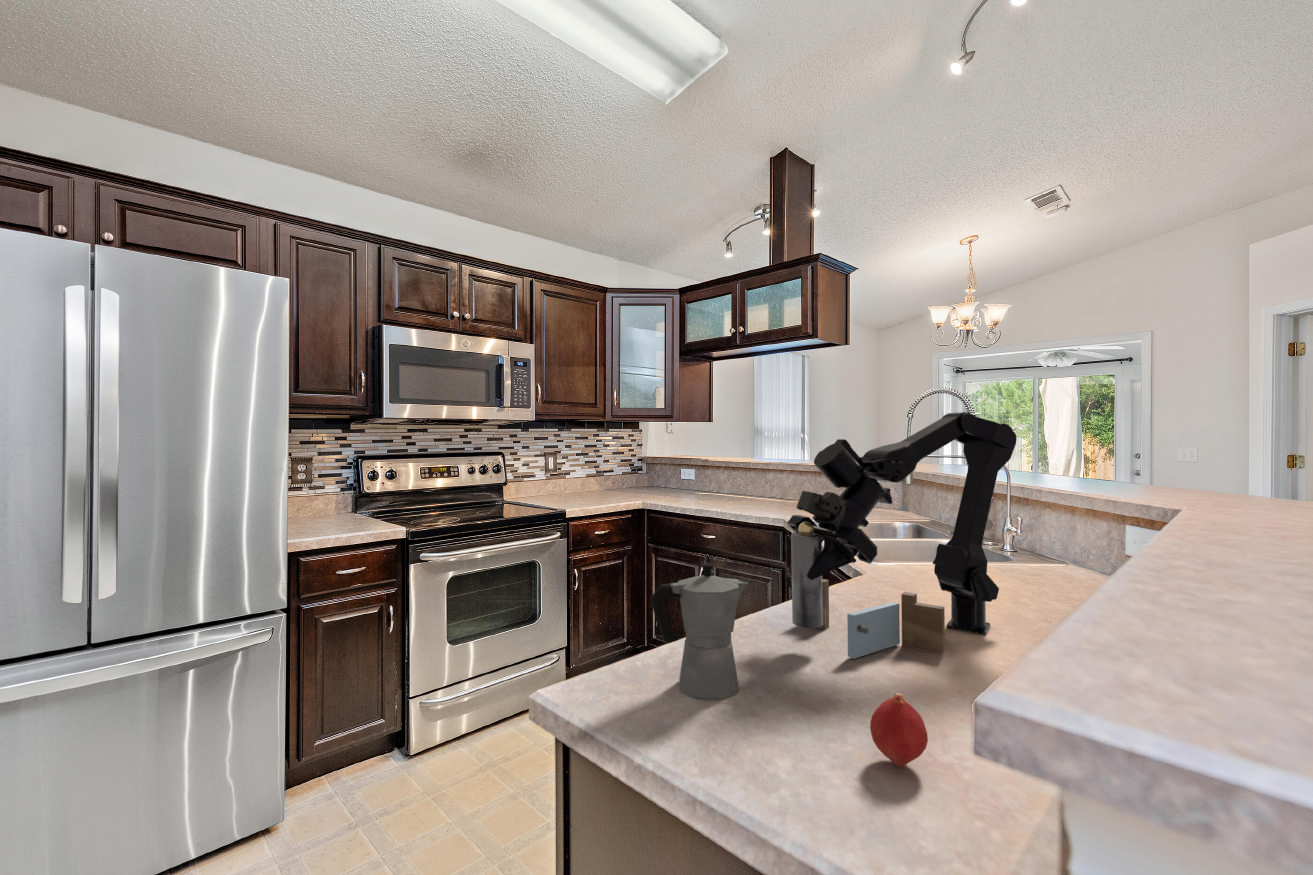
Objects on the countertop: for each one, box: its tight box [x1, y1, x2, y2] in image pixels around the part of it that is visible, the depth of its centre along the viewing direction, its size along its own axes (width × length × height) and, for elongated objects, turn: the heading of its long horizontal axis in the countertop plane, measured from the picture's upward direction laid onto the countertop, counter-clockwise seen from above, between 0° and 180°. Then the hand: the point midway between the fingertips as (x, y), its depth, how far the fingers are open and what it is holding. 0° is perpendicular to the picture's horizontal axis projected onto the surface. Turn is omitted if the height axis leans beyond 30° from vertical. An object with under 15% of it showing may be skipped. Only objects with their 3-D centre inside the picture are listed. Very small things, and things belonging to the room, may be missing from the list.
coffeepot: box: [650, 562, 750, 701], centre depth 82 cm, size 15×9×18 cm, turn 110°
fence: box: [816, 578, 946, 655], centre depth 102 cm, size 2×25×9 cm, turn 52°
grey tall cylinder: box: [790, 522, 823, 629], centre depth 96 cm, size 5×5×17 cm
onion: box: [869, 692, 929, 768], centre depth 62 cm, size 6×6×8 cm
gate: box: [847, 601, 901, 660], centre depth 94 cm, size 12×3×7 cm, turn 122°
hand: (799, 574), depth 95 cm, fingers closed on grey tall cylinder, 5 cm apart
